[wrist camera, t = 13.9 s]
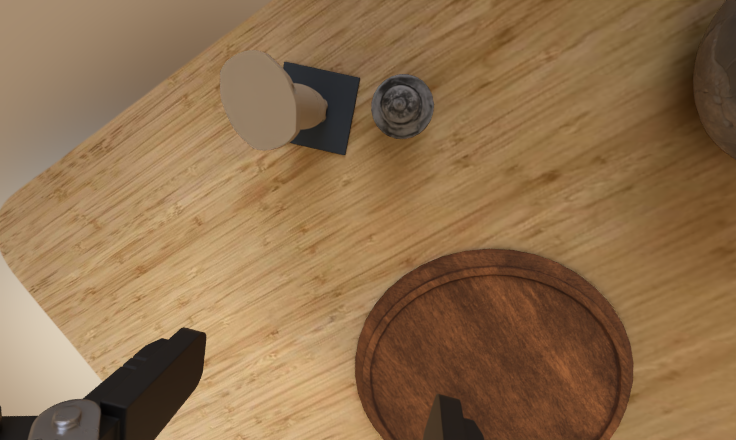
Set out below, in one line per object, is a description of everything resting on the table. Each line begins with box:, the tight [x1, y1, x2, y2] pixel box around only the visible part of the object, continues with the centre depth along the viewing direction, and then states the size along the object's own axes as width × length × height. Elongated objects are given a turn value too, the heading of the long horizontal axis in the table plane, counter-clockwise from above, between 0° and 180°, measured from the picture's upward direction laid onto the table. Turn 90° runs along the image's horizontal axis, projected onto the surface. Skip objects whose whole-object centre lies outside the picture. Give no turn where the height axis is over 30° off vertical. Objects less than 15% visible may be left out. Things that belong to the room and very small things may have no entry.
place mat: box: [283, 62, 360, 155], centre depth 40 cm, size 8×8×1 cm
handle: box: [220, 50, 328, 151], centre depth 32 cm, size 5×6×15 cm
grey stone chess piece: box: [371, 74, 434, 139], centre depth 33 cm, size 6×6×12 cm
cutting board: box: [355, 249, 633, 440], centre depth 44 cm, size 32×32×2 cm
